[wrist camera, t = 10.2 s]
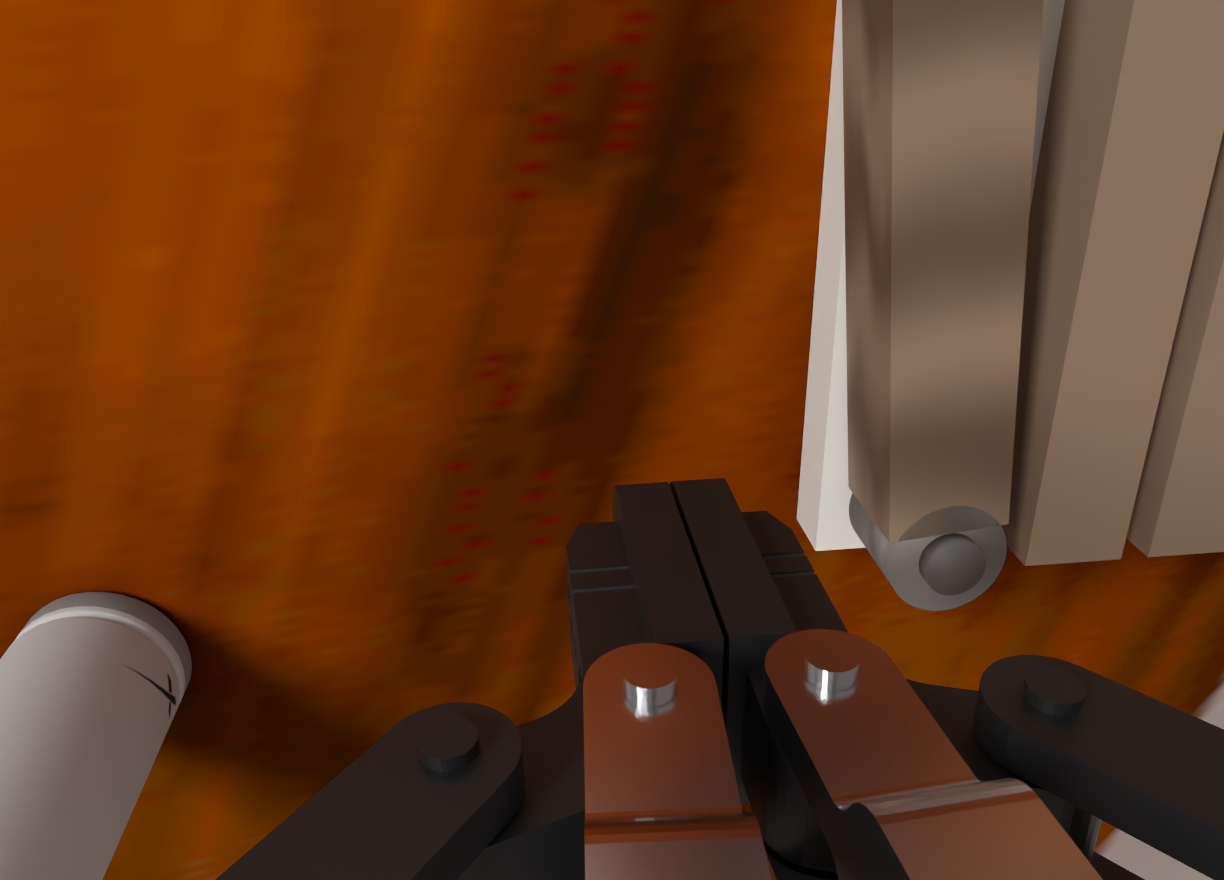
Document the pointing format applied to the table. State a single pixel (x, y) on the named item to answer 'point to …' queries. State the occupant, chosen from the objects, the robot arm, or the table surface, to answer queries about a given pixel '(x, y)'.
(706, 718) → the robot arm
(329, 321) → the table surface
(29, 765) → the travel mug
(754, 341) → the table surface
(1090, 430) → the slatted block on base
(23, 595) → the table surface
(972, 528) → the hinged leg
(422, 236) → the table surface
